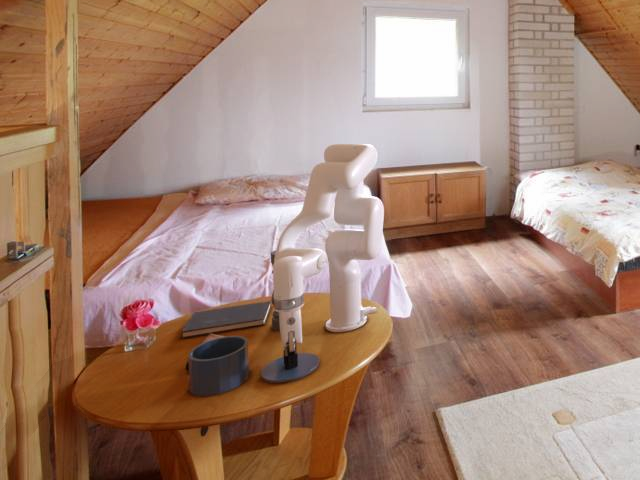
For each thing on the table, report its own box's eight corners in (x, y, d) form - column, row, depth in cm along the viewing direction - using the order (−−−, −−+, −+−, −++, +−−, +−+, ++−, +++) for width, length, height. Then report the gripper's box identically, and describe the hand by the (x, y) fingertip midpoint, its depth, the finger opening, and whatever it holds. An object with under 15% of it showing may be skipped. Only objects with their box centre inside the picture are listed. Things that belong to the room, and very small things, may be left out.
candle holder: (297, 323, 193) (295, 249, 192) (281, 331, 187) (279, 255, 186) (283, 320, 195) (281, 247, 194) (267, 329, 189) (265, 253, 188)
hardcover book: (264, 325, 191) (264, 318, 191) (181, 338, 183) (181, 331, 182) (271, 306, 206) (271, 300, 206) (194, 318, 197) (194, 311, 197)
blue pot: (248, 363, 167) (247, 331, 167) (249, 385, 156) (248, 351, 155) (191, 377, 160) (189, 344, 160) (188, 402, 148) (186, 366, 148)
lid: (316, 352, 174) (315, 331, 173) (322, 374, 161) (322, 352, 161) (260, 366, 166) (259, 345, 166) (262, 390, 153) (261, 367, 153)
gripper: (307, 308, 158) (308, 374, 159) (301, 289, 172) (302, 349, 172) (275, 315, 154) (277, 382, 155) (272, 294, 168) (273, 356, 168)
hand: (290, 364), depth 164 cm, fingers closed on lid, 2 cm apart
